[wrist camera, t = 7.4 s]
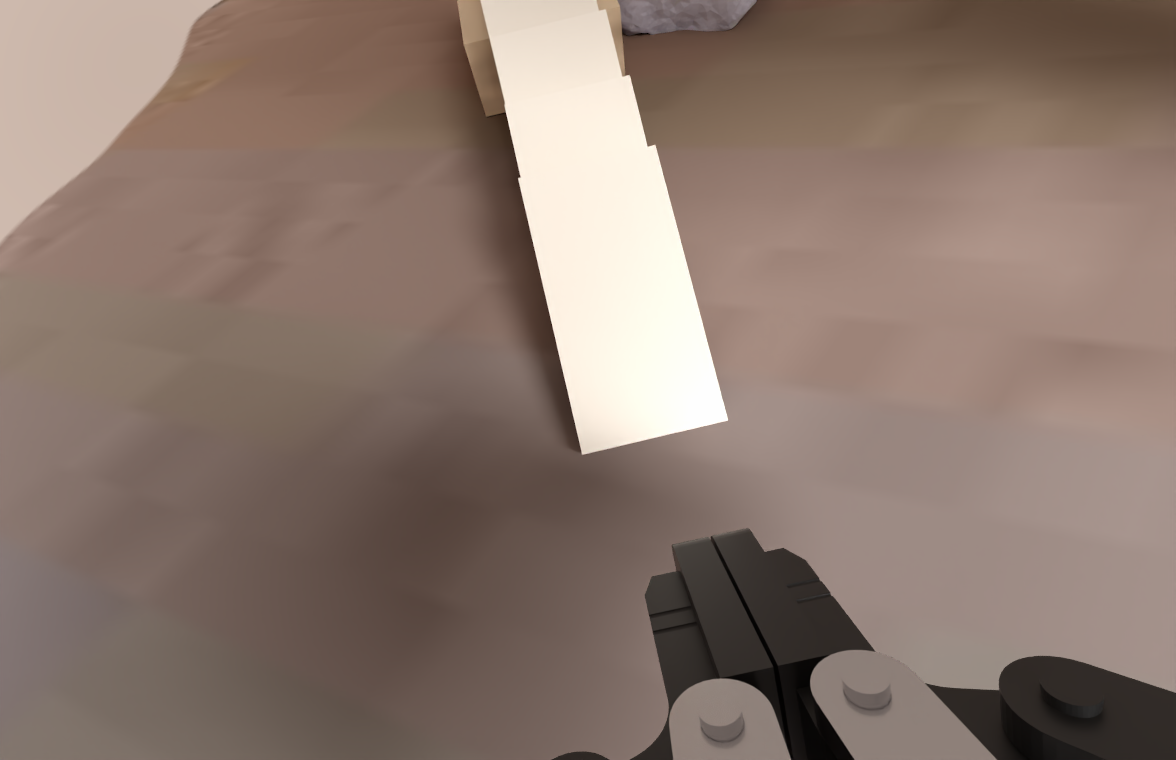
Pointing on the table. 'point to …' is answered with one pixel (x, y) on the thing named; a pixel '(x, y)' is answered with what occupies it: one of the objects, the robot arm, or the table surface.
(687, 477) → the table surface
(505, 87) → the domino
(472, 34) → the stop block
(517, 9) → the domino
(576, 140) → the domino
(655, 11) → the stone block
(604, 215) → the domino
